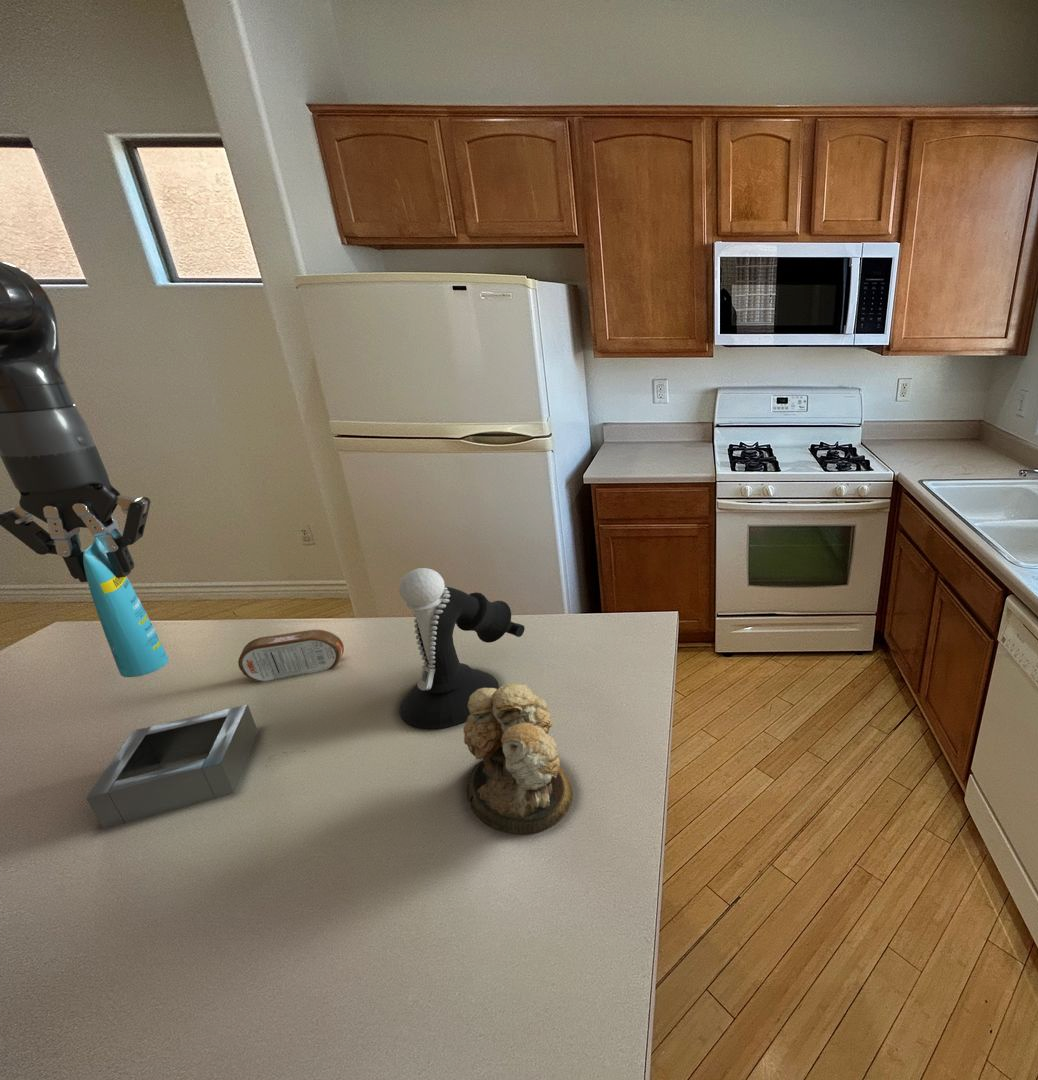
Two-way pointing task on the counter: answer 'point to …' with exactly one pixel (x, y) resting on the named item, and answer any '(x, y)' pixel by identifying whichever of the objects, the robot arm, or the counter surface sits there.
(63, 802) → the counter surface
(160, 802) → the stand
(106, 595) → the tube
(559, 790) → the owl figurine
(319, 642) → the tin
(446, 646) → the sculpture
